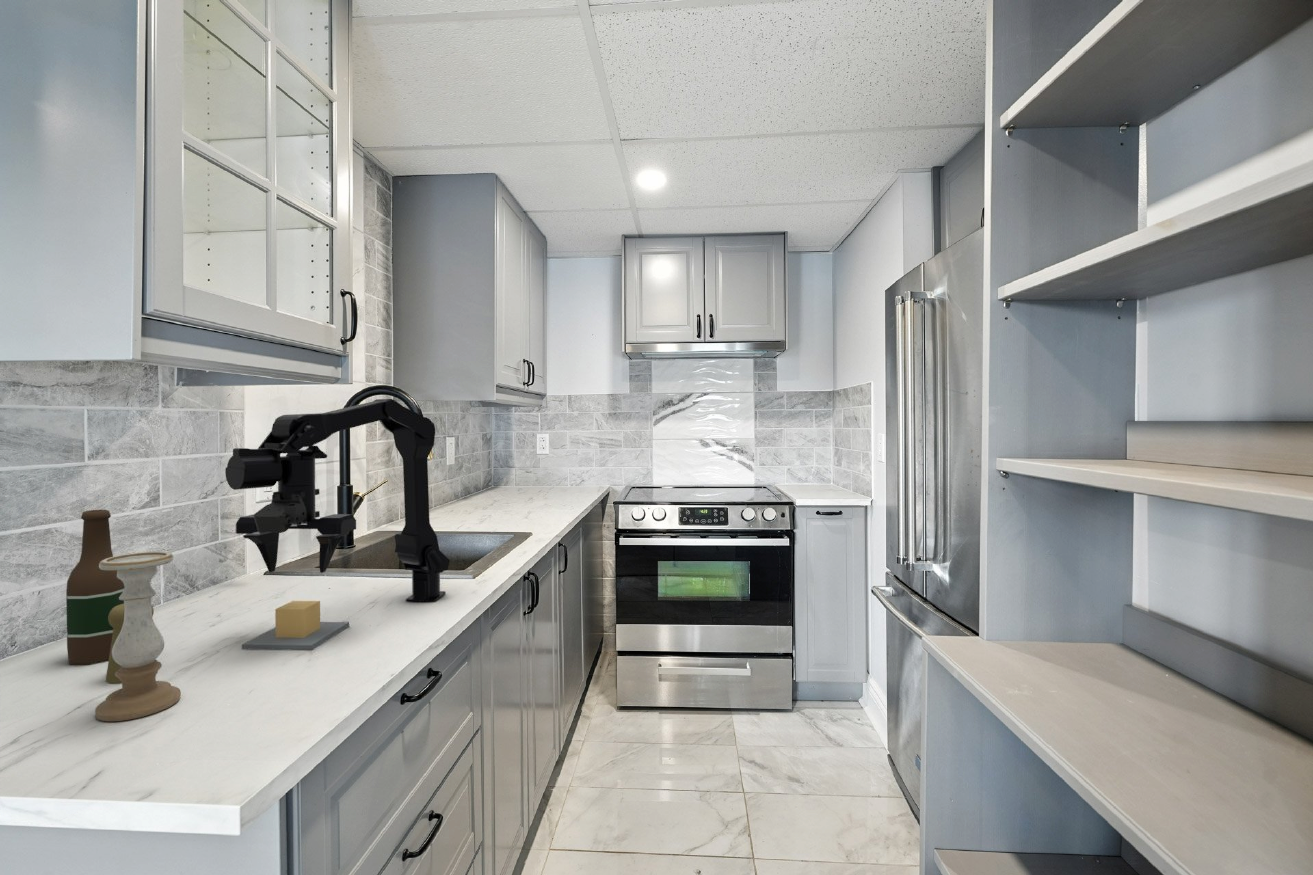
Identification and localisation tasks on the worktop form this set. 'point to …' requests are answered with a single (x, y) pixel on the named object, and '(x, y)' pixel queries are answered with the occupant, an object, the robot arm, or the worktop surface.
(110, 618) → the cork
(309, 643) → the grey mat
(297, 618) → the ochre cube
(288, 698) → the worktop surface
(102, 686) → the worktop surface
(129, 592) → the candle holder
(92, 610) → the beer bottle
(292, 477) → the robot arm
